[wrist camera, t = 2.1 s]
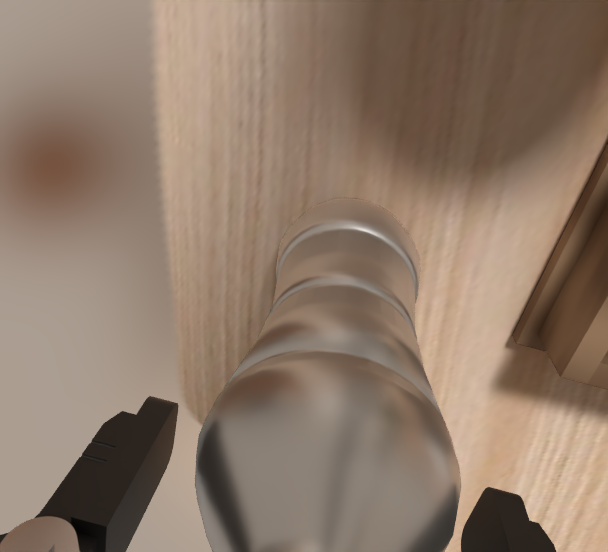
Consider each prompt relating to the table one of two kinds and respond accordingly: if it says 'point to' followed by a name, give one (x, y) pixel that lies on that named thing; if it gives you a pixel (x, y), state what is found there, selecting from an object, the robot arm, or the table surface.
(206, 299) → the table surface
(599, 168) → the bottle stand
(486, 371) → the table surface
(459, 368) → the table surface
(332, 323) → the plastic bottle
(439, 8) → the table surface
